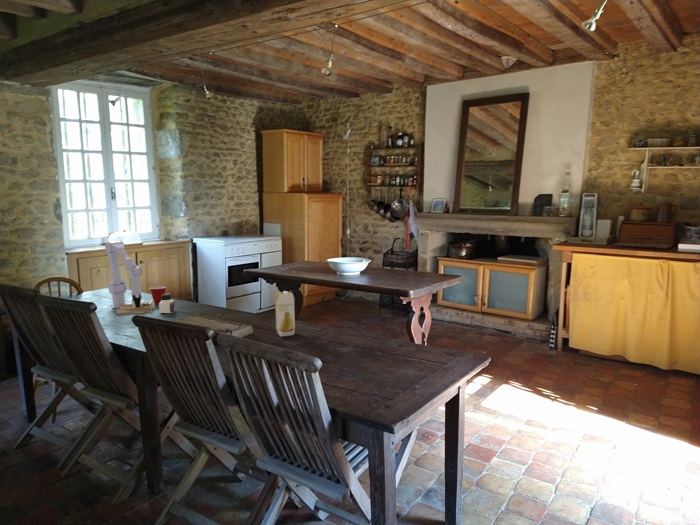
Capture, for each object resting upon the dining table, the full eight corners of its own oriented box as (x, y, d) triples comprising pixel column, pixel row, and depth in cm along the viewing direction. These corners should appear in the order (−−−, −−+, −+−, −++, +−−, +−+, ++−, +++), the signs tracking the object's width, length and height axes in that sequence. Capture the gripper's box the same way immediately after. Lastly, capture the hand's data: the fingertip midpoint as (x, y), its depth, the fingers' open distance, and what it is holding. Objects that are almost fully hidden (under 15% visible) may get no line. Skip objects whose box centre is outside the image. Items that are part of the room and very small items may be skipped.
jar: (132, 308, 316) (131, 298, 315) (141, 307, 318) (140, 297, 317) (132, 310, 311) (131, 300, 310) (141, 309, 314) (140, 299, 312)
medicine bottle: (170, 314, 307) (169, 295, 305) (159, 314, 307) (158, 295, 305) (174, 311, 314) (173, 292, 312) (163, 311, 314) (162, 292, 312)
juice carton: (279, 337, 258) (277, 293, 254) (275, 333, 265) (274, 290, 261) (296, 335, 262) (295, 291, 258) (291, 331, 269) (290, 288, 265)
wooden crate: (120, 310, 318) (119, 301, 317) (152, 307, 323) (152, 299, 322) (116, 314, 306) (116, 306, 305) (151, 312, 312) (150, 303, 311)
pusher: (142, 307, 320) (141, 300, 319) (144, 307, 320) (143, 300, 320) (140, 311, 311) (140, 303, 310) (142, 310, 312) (142, 303, 311)
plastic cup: (167, 301, 340) (166, 284, 338) (167, 305, 330) (166, 287, 328) (151, 302, 337) (149, 285, 335) (150, 306, 327) (148, 288, 325)
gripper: (128, 284, 317) (130, 304, 319) (129, 288, 304) (131, 309, 306) (140, 283, 320) (141, 303, 322) (141, 287, 307) (143, 308, 310)
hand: (137, 306), depth 315 cm, fingers closed on jar, 5 cm apart
